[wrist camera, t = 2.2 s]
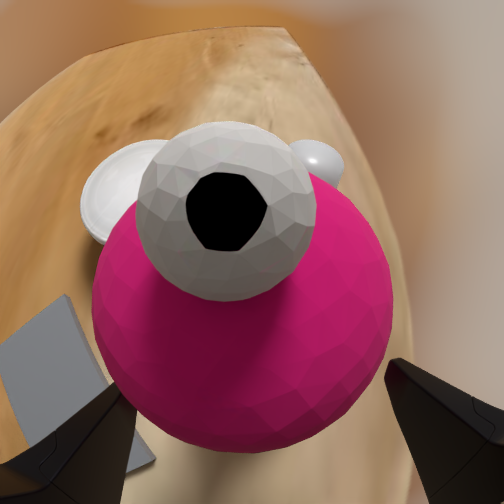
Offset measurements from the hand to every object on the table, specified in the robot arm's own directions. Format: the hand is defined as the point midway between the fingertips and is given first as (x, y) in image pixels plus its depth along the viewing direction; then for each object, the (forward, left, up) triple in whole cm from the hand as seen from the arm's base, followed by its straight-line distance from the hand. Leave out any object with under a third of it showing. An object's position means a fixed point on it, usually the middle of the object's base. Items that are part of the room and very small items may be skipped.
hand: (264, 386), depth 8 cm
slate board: (+2, +17, -12) cm, 21 cm away
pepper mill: (+2, 0, -12) cm, 12 cm away
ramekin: (+17, +4, -12) cm, 21 cm away
